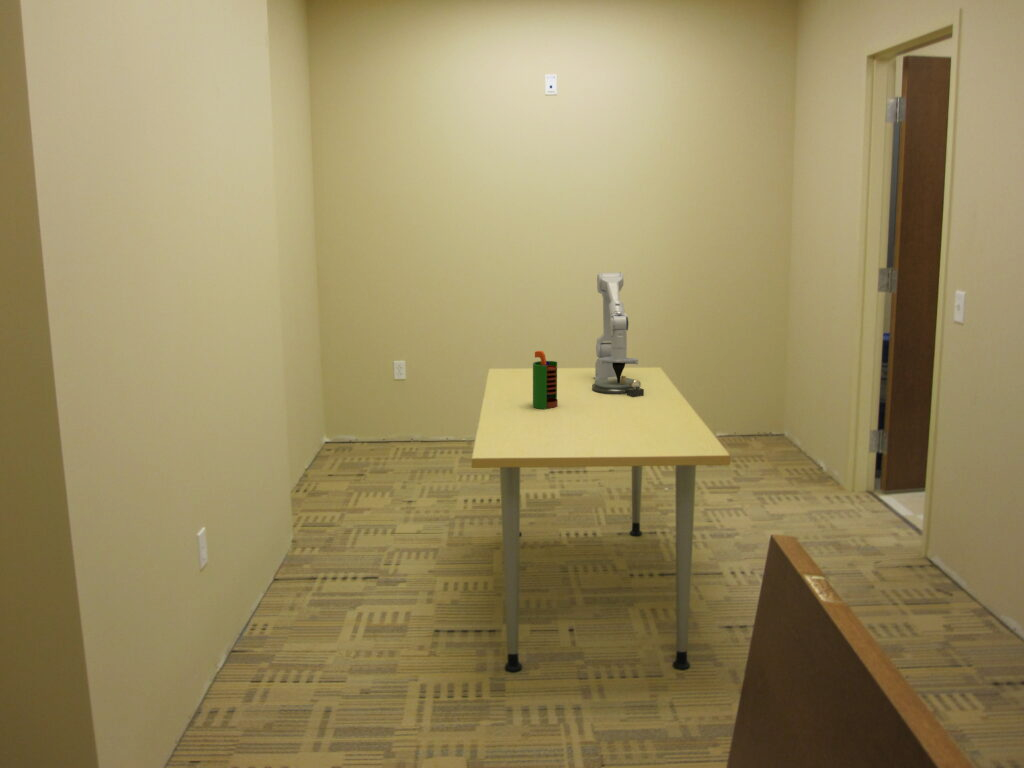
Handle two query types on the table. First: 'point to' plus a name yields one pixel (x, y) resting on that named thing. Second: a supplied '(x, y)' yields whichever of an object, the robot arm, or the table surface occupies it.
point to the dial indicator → (635, 389)
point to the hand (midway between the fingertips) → (618, 382)
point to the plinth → (608, 390)
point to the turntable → (614, 383)
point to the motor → (544, 382)
